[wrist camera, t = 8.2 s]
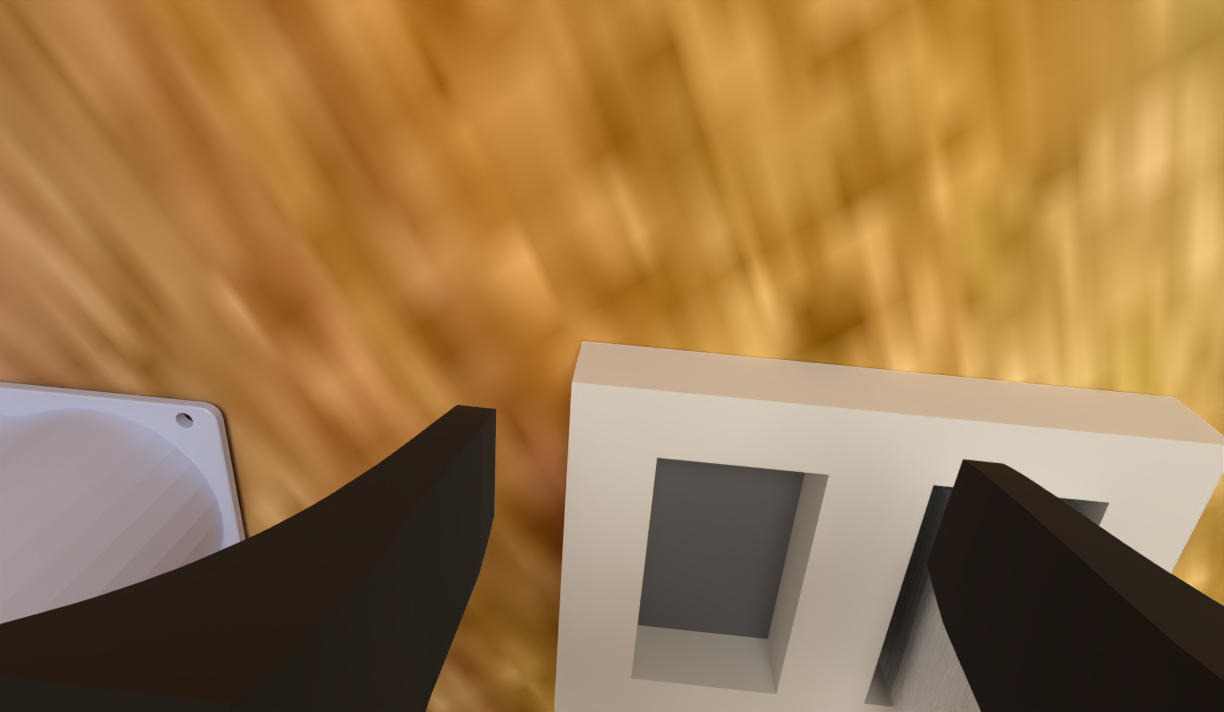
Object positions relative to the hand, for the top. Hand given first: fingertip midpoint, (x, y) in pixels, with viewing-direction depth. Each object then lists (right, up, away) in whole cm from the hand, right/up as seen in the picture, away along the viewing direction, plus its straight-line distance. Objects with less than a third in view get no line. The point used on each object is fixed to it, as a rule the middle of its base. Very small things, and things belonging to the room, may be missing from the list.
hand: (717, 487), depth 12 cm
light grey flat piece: (+5, -4, +12) cm, 13 cm away
